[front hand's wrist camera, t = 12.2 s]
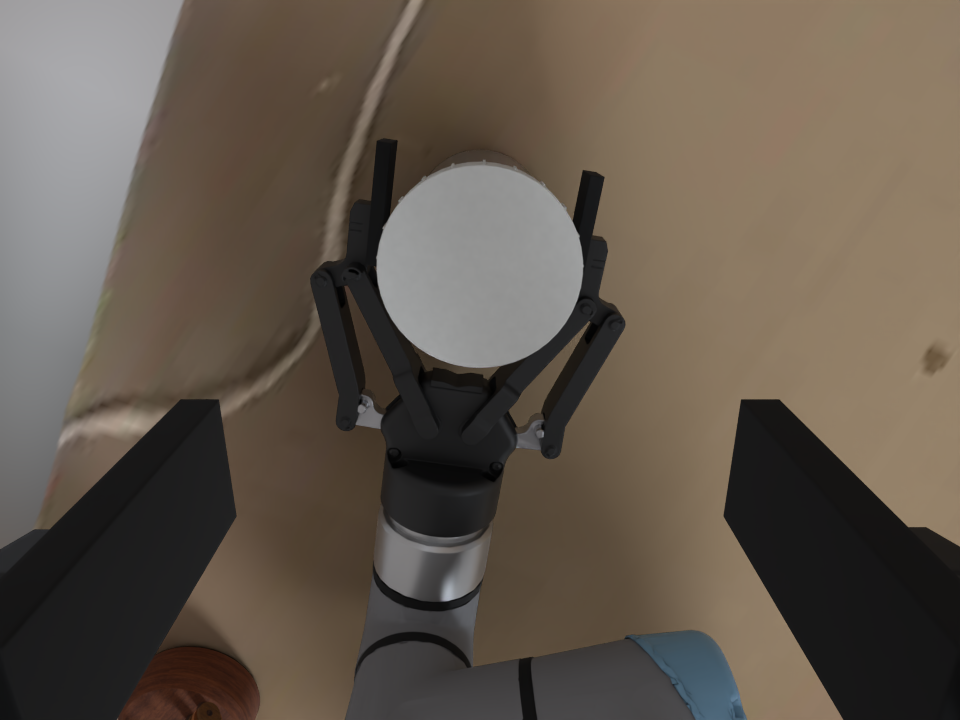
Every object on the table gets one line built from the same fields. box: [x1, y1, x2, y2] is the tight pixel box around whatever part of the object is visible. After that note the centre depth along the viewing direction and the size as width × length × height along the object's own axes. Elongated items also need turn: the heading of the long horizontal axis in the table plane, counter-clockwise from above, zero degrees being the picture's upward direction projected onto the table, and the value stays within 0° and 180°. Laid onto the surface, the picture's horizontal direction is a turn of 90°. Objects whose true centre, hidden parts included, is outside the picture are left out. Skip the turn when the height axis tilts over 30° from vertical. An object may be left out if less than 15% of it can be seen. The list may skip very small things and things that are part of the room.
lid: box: [376, 160, 584, 368], centre depth 30 cm, size 9×9×2 cm
